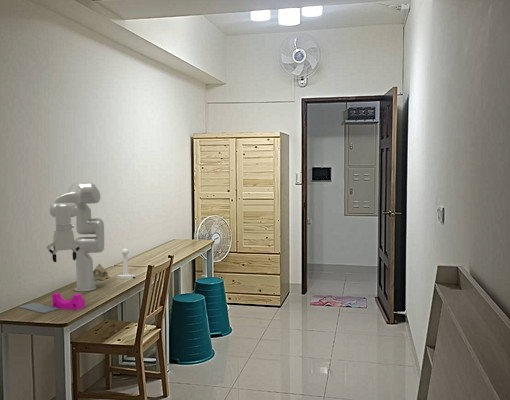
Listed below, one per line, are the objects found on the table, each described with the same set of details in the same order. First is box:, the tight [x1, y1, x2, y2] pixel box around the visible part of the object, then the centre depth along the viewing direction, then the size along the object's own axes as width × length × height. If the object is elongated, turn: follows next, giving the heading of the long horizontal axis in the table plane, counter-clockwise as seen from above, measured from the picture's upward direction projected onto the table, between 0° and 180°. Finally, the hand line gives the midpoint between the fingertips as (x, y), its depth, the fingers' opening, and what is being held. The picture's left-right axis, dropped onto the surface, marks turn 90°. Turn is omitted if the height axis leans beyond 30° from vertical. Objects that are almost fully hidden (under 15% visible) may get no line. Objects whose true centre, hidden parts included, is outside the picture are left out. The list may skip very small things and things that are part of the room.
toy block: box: [51, 292, 86, 311], centre depth 288 cm, size 15×6×8 cm, turn 75°
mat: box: [18, 302, 60, 314], centre depth 287 cm, size 9×22×1 cm, turn 55°
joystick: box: [116, 247, 136, 278], centre depth 358 cm, size 11×8×20 cm
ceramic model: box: [93, 263, 110, 282], centre depth 358 cm, size 14×11×10 cm
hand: (64, 261), depth 284 cm, fingers open, 9 cm apart
